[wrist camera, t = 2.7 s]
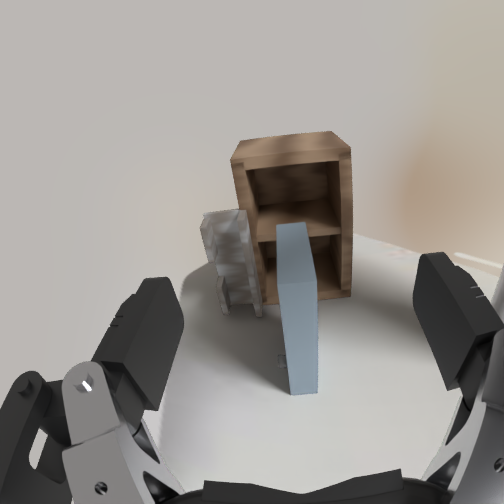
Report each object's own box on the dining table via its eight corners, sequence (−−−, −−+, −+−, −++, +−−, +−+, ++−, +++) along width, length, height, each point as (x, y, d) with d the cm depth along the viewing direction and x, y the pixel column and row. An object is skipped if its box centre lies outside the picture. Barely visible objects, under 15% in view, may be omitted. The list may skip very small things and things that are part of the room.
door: (311, 330, 39) (305, 221, 31) (317, 393, 31) (316, 280, 22) (281, 333, 40) (266, 225, 31) (281, 395, 31) (264, 285, 23)
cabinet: (337, 253, 53) (331, 131, 42) (354, 309, 41) (357, 153, 29) (235, 263, 56) (210, 145, 45) (224, 321, 43) (184, 173, 32)
